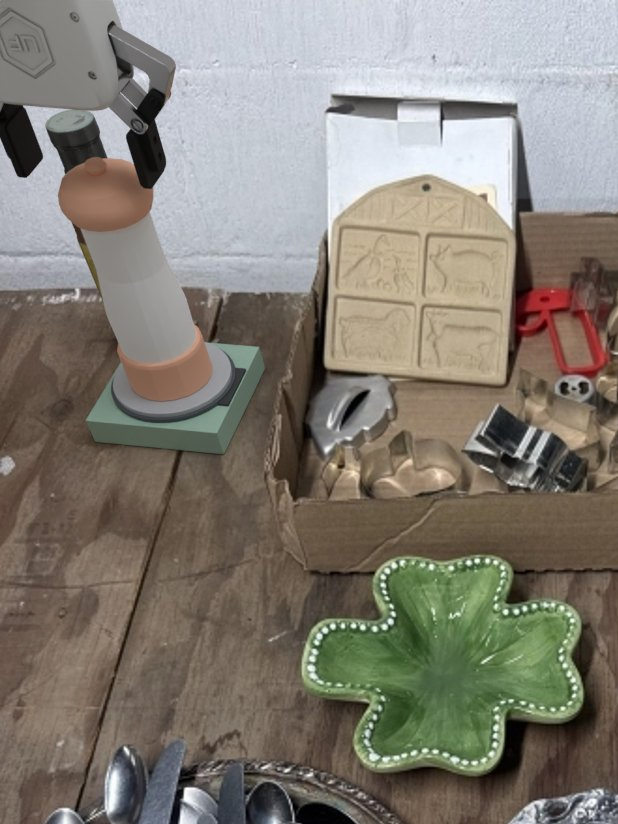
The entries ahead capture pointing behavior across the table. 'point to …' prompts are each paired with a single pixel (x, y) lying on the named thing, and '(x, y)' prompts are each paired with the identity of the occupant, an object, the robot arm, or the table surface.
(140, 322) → the pepper shaker
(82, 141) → the sauce bottle
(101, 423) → the scale
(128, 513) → the table surface
